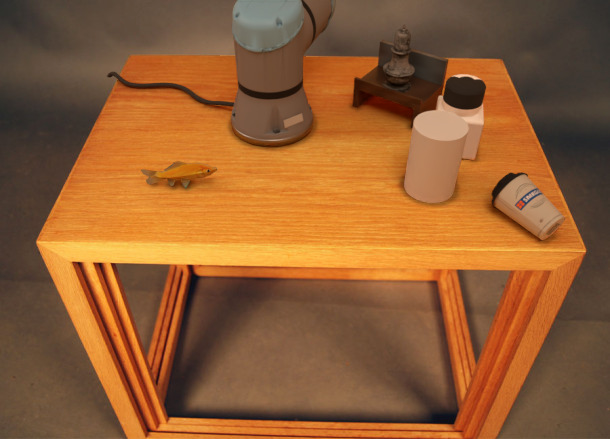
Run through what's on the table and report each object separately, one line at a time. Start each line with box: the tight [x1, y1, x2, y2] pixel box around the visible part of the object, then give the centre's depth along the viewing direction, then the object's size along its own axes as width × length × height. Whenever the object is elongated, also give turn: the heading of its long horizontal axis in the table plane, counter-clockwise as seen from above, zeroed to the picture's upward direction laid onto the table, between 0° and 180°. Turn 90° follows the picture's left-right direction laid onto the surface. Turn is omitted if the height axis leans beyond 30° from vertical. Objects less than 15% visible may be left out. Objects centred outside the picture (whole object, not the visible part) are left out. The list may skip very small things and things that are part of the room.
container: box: [436, 73, 487, 161], centre depth 97 cm, size 8×8×13 cm
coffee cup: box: [491, 171, 566, 241], centre depth 85 cm, size 7×7×10 cm
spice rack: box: [352, 39, 449, 129], centre depth 107 cm, size 14×10×10 cm
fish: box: [140, 160, 218, 189], centre depth 91 cm, size 12×2×5 cm, turn 88°
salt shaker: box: [383, 24, 415, 93], centre depth 103 cm, size 6×6×12 cm
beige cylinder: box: [403, 110, 469, 204], centre depth 89 cm, size 8×8×12 cm
